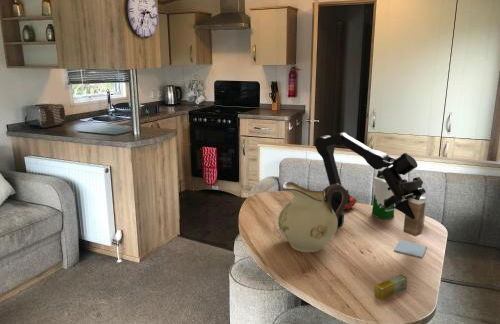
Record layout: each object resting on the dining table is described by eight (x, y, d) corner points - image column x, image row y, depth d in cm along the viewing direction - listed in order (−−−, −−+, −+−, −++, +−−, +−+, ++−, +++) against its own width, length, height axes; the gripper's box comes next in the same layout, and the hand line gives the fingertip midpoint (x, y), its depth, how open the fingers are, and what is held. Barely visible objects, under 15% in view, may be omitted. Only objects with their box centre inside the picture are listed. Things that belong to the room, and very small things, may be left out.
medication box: (399, 284, 126) (400, 273, 125) (406, 288, 124) (407, 277, 123) (373, 296, 120) (374, 284, 119) (380, 300, 118) (381, 288, 117)
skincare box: (424, 223, 172) (427, 197, 169) (417, 225, 170) (420, 199, 167) (413, 218, 177) (416, 193, 174) (406, 220, 176) (408, 195, 172)
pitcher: (266, 247, 150) (267, 185, 144) (297, 227, 169) (300, 171, 162) (318, 266, 137) (322, 199, 131) (346, 242, 156) (351, 182, 149)
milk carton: (383, 210, 187) (386, 170, 182) (397, 217, 179) (401, 175, 174) (368, 213, 183) (372, 172, 178) (382, 220, 175) (386, 178, 170)
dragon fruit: (330, 211, 190) (353, 213, 192) (338, 207, 182) (361, 209, 185) (329, 194, 193) (351, 196, 196) (336, 189, 185) (360, 191, 188)
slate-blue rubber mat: (393, 251, 148) (394, 250, 148) (399, 241, 156) (399, 239, 156) (422, 258, 143) (422, 256, 142) (426, 247, 151) (426, 246, 151)
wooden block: (415, 236, 144) (418, 204, 141) (403, 231, 148) (406, 200, 145) (421, 233, 147) (425, 202, 143) (409, 229, 151) (413, 198, 147)
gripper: (393, 174, 139) (418, 213, 134) (424, 166, 150) (448, 202, 144) (373, 189, 148) (396, 226, 142) (404, 181, 158) (426, 215, 152)
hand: (417, 217), depth 145 cm, fingers closed on wooden block, 4 cm apart
